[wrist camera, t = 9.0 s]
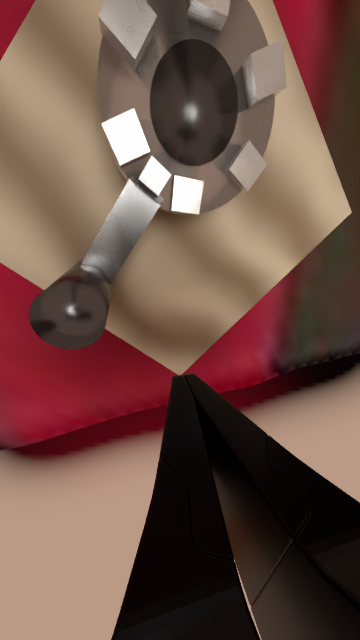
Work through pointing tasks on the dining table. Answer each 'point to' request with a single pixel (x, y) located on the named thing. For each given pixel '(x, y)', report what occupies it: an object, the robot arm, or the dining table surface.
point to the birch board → (164, 228)
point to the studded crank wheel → (168, 135)
